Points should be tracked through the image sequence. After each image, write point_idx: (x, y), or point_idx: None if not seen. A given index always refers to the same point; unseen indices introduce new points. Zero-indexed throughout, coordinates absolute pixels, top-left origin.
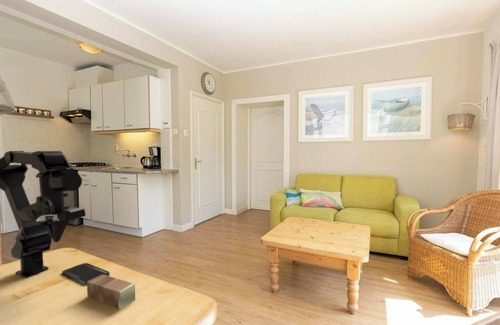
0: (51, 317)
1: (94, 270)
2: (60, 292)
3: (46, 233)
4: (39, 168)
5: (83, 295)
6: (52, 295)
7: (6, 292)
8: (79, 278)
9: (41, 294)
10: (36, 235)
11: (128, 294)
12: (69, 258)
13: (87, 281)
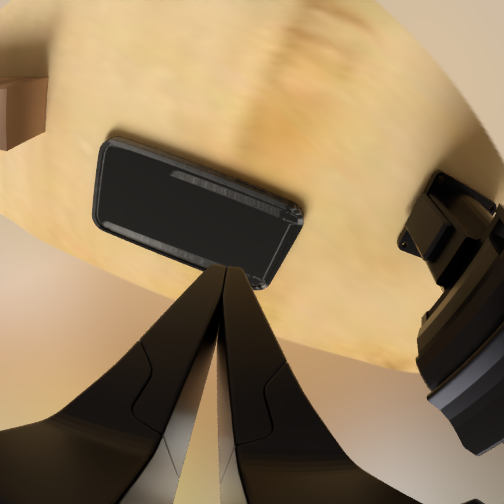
0: None
1: (164, 236)
2: (159, 65)
3: (443, 387)
4: None
5: (66, 80)
6: (172, 40)
7: (413, 44)
8: (164, 167)
9: (229, 34)
10: (492, 349)
11: None
12: (372, 323)
13: (6, 90)
